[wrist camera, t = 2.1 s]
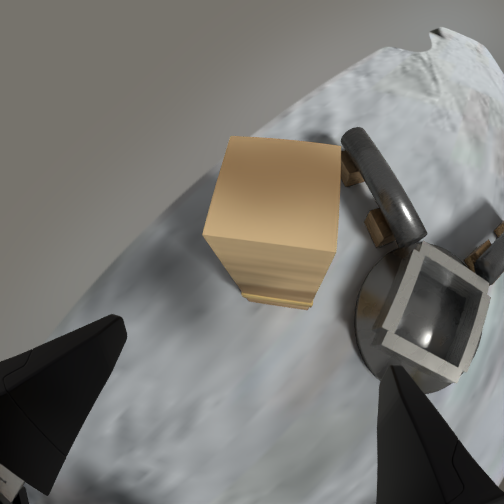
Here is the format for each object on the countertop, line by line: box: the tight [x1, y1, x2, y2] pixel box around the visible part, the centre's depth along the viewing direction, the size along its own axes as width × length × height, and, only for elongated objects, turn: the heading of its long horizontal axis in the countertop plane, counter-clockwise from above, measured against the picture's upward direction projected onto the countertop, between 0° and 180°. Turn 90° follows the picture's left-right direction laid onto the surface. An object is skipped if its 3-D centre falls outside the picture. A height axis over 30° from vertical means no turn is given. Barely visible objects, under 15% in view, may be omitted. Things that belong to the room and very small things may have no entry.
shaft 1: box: [340, 127, 427, 249], centre depth 21 cm, size 10×3×4 cm, turn 18°
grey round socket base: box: [355, 241, 491, 394], centre depth 17 cm, size 12×12×3 cm
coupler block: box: [202, 136, 341, 310], centre depth 16 cm, size 5×5×12 cm
